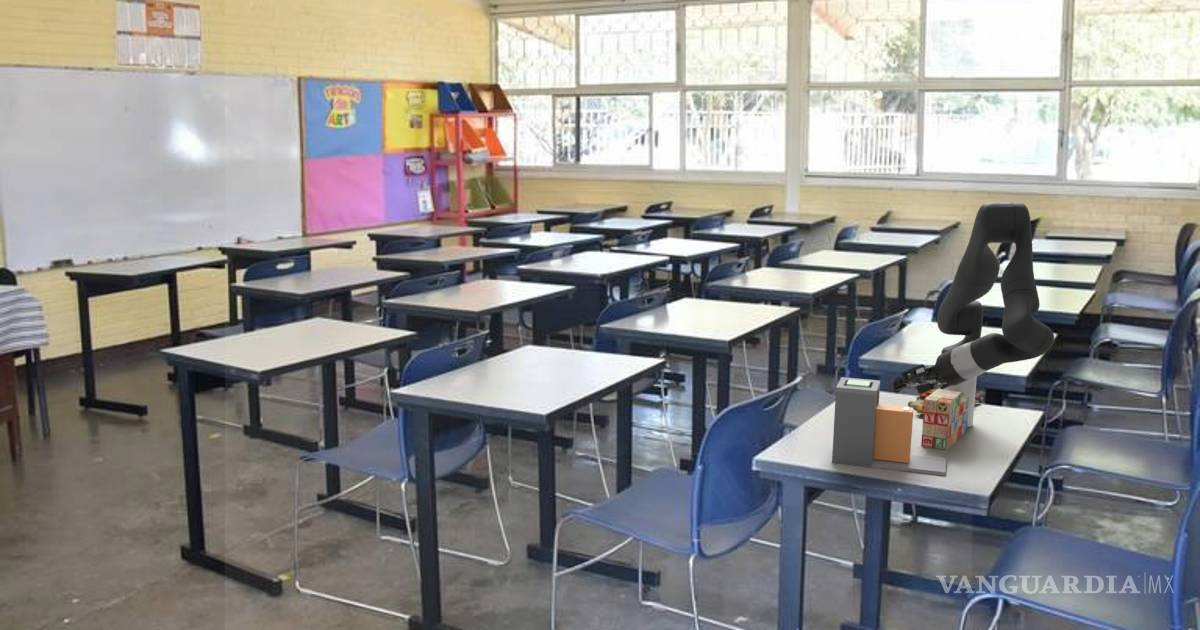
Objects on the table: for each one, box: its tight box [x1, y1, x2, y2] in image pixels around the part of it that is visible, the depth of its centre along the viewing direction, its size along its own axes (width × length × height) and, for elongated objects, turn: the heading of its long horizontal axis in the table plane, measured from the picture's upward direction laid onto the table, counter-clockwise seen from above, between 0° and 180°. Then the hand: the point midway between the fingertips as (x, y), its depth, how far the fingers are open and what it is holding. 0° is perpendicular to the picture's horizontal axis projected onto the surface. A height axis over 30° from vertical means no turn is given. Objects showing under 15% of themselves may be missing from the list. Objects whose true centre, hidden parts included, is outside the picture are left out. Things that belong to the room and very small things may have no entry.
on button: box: [846, 379, 871, 388], centre depth 240 cm, size 5×5×5 cm
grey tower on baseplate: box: [831, 376, 947, 476], centre depth 239 cm, size 11×25×18 cm, turn 71°
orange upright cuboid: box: [873, 403, 914, 463], centre depth 239 cm, size 4×8×12 cm, turn 71°
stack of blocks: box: [920, 389, 969, 451], centre depth 260 cm, size 21×6×12 cm, turn 148°
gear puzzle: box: [907, 388, 984, 414], centre depth 291 cm, size 31×16×4 cm, turn 144°
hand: (906, 388), depth 239 cm, fingers open, 8 cm apart
